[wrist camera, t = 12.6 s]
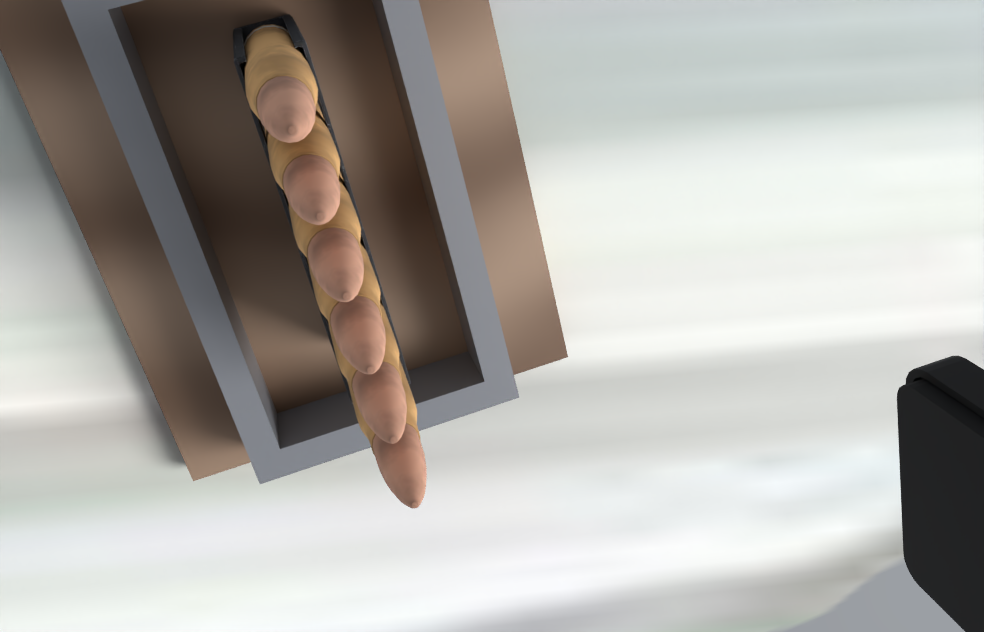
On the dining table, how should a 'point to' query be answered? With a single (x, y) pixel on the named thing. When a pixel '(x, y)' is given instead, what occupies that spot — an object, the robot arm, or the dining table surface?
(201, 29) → the pocket board
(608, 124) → the dining table surface
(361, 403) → the ammunition clip
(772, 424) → the dining table surface
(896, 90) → the dining table surface
